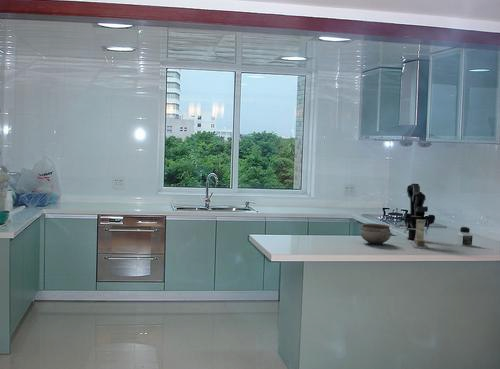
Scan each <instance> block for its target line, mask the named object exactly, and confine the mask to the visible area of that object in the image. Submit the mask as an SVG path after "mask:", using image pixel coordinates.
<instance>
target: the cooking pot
mask: <svg viewBox="0 0 500 369" xmlns="http://www.w3.org/2000/svg"><path fill="white" fill-rule="evenodd" d="M362 225H363V226H362V227H360V228H359V230H360V236H361V238H362V239H363V240H364V241H365V242H367V243H368V244H369V245H373V244H374V246H379V245H381V244H384V243H386V242H387V241H389V240H390V238H391V236H392V235H393V232H391V229H390V227H391V225H388V224H384V223H374V222H373V223H369V222H368V223H362Z"/></svg>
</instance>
